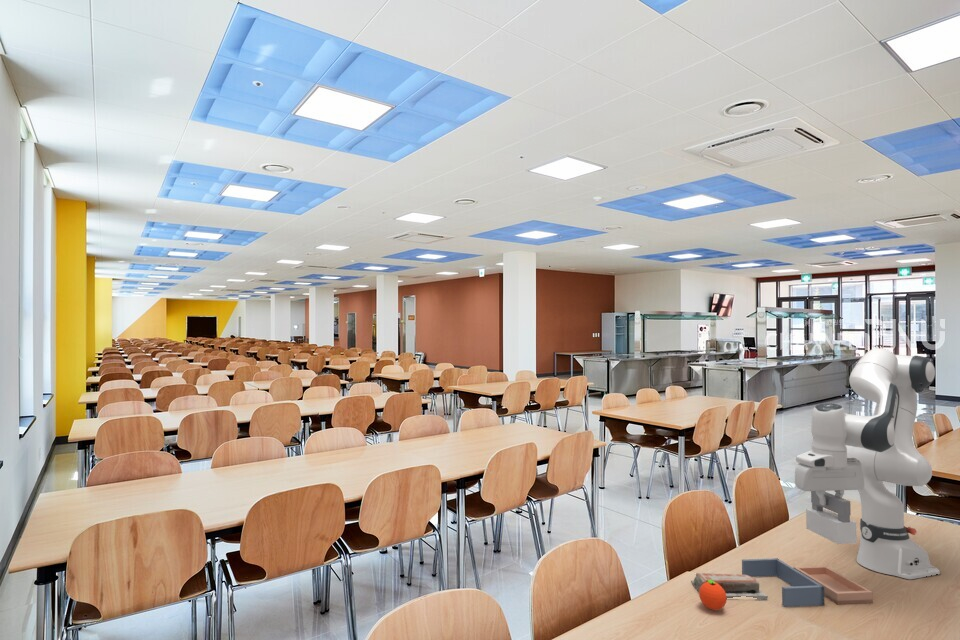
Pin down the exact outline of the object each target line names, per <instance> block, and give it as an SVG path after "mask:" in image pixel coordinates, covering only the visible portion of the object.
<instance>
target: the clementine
mask: <svg viewBox="0 0 960 640" xmlns="http://www.w3.org/2000/svg"><path fill="white" fill-rule="evenodd" d="M698 595H699V599H700V601H701V603H702V605H704V606H705V607H706V608H707V609H709V610H712V611H719V610H722V609H723V608H725V605H726V604H727V601H728V600H727V597H726V593H725V591H724V589H723V588H722V587H721V586H720V585H719V584H717V583H716V582H714V581H712V580H706V583H704V584H703V585H702V586H701V587H700V589H699V591H698Z"/></svg>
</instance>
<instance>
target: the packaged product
mask: <svg viewBox="0 0 960 640" xmlns="http://www.w3.org/2000/svg"><path fill="white" fill-rule="evenodd" d="M706 580H712V581H714V582H716V583H717V584H719V585H720V586H721V587H722V588H723V589H724V591H725V593H726V597H727V598H733V597H741V596H746V597H753V598H757V599H761V600H760V601H768V597H769V596H768V595H767V594H766V593H765V592H763V591H762V590H761V589H760V582H758V580H757V579H756V577H751V576H748V575H742V574H739V573H737V574H736V573H735V574H734V573H713V572H712V573H711V572H710V573H709V572H706V573H705V572H697V573H696V574H695V576H694V578H693V580H690V583H691V585H692V586H693V587H694V588H695V589H696V591H698V592H699V589H700V587H701V586H702V585H703V584H704V583H706Z"/></svg>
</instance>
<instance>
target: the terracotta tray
mask: <svg viewBox="0 0 960 640" xmlns="http://www.w3.org/2000/svg"><path fill="white" fill-rule="evenodd" d="M793 568H794V569H796V570H797V571H799V572H801V573H802V574H804V575H805V576H807V577H809V578H810V579H812V580H814V581H815V582H817V583H819V584H820V585H822V586H823V587H824V598H825V599H828V600H829V601H831V602H832V603H834V604H836V605H839V606H840V605H855V604H856V605H857V604H860V605H861V604H873V603H874V592H873V590H870V589H868V588H867V587H864V586H863V585H860V583H858V582H855V581H853V580H852V579H850V578H848V577H846V576H844V575H843V574H841V573H839V572H838V571H835V570H834V569H832V568H830V567H828V566H827V565H817V566H816V565H815V566H814V565H813V566H810V565H809V566H793Z"/></svg>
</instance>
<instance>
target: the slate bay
mask: <svg viewBox="0 0 960 640" xmlns="http://www.w3.org/2000/svg"><path fill="white" fill-rule="evenodd" d="M741 575H748V576H751V577H754V578H758V577H760V578H761V577H778V579H781V580H782V581H784V582H785V583H786V584H788V585H789V586H782V587H781V605H782V606H783V607H784V608H792V607H793V608H795V607H814V606H816V607H818V606H825V596H824V587H823V586H822V585H820V584H819V583H817V582H815V581H814V580H812V579H810V578H809V577H807V576H805V575H804V574H802V573H801V572H799V571H797V570H796V569H794V567H792V566H790V565H789V564H787V563H786V562H784V561H783V560H781V559H780V558H751V559H750V558H749V559H748V558H747V559H746V558H745V559H741Z"/></svg>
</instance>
